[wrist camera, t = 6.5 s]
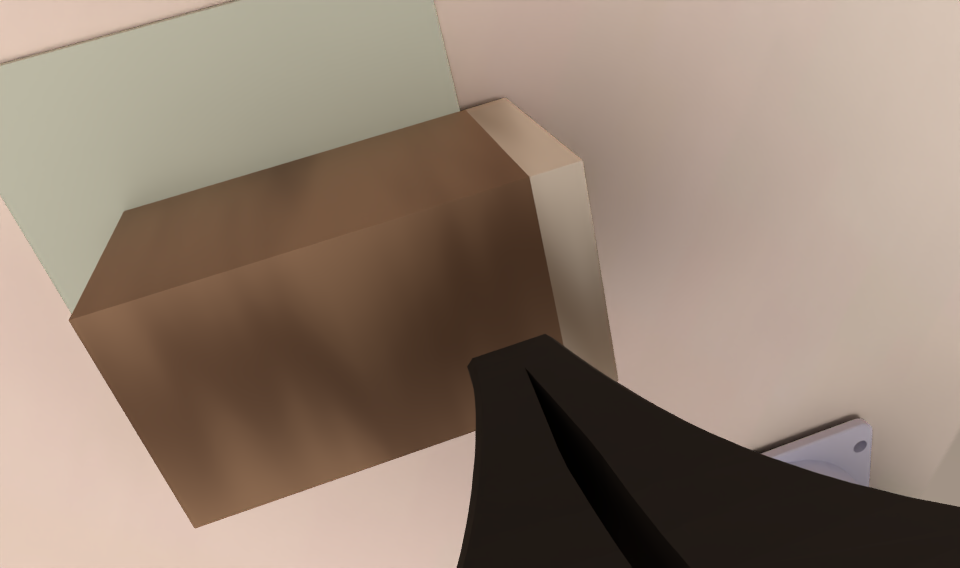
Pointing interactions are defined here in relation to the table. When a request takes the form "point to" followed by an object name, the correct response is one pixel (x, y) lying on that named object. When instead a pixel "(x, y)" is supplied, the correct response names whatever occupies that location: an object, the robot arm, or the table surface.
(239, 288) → the walnut block
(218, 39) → the sage mat
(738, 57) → the table surface
